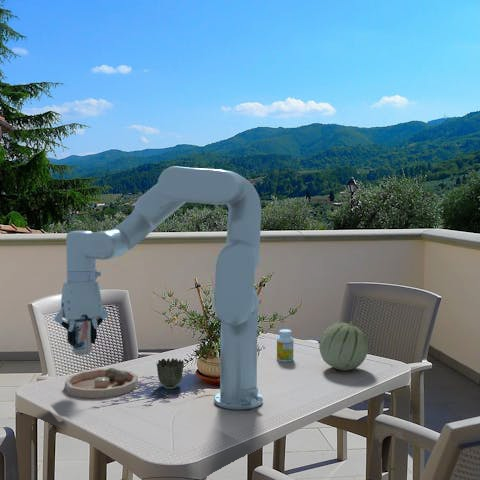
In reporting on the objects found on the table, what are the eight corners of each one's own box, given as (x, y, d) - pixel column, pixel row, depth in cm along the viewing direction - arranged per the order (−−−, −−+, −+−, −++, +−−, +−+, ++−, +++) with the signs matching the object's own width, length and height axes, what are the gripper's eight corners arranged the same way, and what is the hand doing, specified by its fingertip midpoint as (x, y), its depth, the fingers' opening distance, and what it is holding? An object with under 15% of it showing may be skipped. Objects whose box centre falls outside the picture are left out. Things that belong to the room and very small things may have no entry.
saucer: (147, 393, 165) (147, 382, 165) (78, 406, 155) (78, 394, 155) (122, 375, 181) (122, 365, 181) (57, 385, 171) (57, 375, 171)
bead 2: (129, 384, 169) (129, 371, 169) (117, 386, 167) (116, 373, 167) (124, 381, 172) (124, 368, 172) (112, 383, 170) (112, 370, 170)
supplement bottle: (275, 357, 201) (275, 328, 200) (291, 357, 202) (291, 328, 201) (278, 362, 196) (278, 332, 195) (294, 362, 196) (295, 332, 195)
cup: (179, 395, 164) (178, 366, 163) (153, 393, 165) (152, 364, 164) (187, 386, 171) (186, 358, 170) (161, 384, 172) (161, 357, 172)
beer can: (69, 354, 163) (68, 310, 162) (80, 350, 167) (79, 307, 167) (84, 356, 161) (84, 311, 160) (94, 351, 166) (94, 308, 165)
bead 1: (119, 381, 172) (119, 368, 172) (107, 383, 170) (107, 370, 170) (115, 377, 175) (115, 365, 175) (103, 379, 174) (103, 367, 173)
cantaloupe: (309, 368, 189) (309, 320, 188) (339, 360, 198) (340, 314, 197) (346, 379, 178) (347, 329, 177) (377, 370, 187) (378, 322, 186)
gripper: (107, 273, 170) (107, 337, 172) (45, 277, 161) (46, 344, 163) (116, 276, 164) (117, 342, 166) (53, 280, 155) (54, 351, 157)
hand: (82, 343), depth 164 cm, fingers closed on beer can, 4 cm apart
